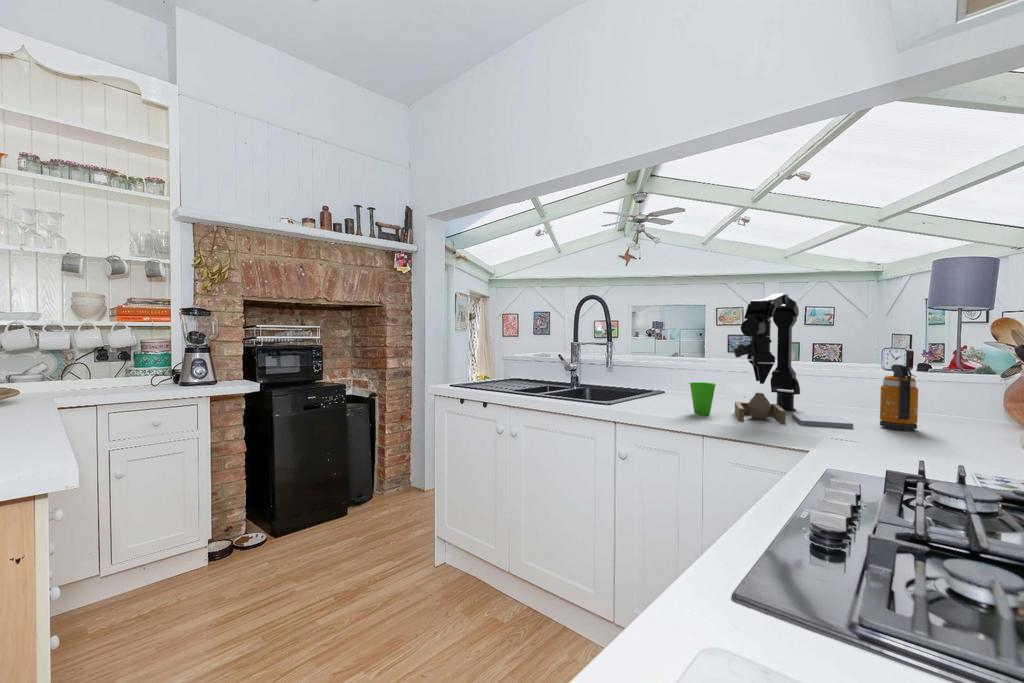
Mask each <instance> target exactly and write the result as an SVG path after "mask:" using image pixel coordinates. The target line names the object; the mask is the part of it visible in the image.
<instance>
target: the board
mask: <svg viewBox="0 0 1024 683" xmlns="http://www.w3.org/2000/svg"><path fill="white" fill-rule="evenodd" d="M791 418H792V419H793V421H796V422H797V423H798V424H799V425H800V426H812V427H826V428H839V429H841V428H842V429H854V423H853V422H852V421H850V420H847V419H846V418H844V417H842V416H841V415H834V414H833V415H831V414H813V413H800V412H799V413H798V412H797V413H796V412H792V413H791Z"/></svg>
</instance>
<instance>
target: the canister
mask: <svg viewBox="0 0 1024 683" xmlns="http://www.w3.org/2000/svg"><path fill="white" fill-rule="evenodd" d="M890 369H891V370H892V373H893V375H885V376H884V377H883V379H882V380H883V381H882V385H880V400H879V401H880V402H879V403H880V405H879V407H880V408H879V409H880V410H879V426H882V427H884V428H885V429H887V430H892V431H902V432H903V431H904V432H911V431H912V430H918V416H919V414H918V413H919V410H918V409H919V388H918V387H917V381H916V378H917V377H918V376H917V375H914V374H912V372H911V369H910V367H909V365H908V364H906V365H903V364H892V365H891V368H890Z"/></svg>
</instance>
